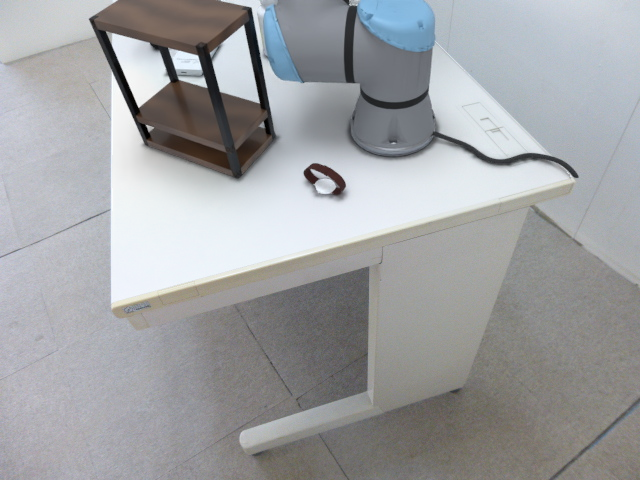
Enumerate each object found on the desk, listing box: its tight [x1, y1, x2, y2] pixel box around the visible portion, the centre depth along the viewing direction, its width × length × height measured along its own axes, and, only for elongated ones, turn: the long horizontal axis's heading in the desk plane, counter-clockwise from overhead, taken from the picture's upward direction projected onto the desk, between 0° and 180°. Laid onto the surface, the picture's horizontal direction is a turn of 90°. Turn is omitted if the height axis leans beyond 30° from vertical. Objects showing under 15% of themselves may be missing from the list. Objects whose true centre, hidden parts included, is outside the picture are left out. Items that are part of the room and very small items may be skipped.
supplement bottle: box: [256, 0, 278, 57], centre depth 107 cm, size 7×7×13 cm
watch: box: [303, 162, 347, 196], centre depth 82 cm, size 8×5×4 cm
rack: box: [88, 0, 277, 180], centre depth 84 cm, size 12×22×24 cm, turn 60°
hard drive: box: [165, 45, 220, 77], centre depth 112 cm, size 2×8×12 cm
